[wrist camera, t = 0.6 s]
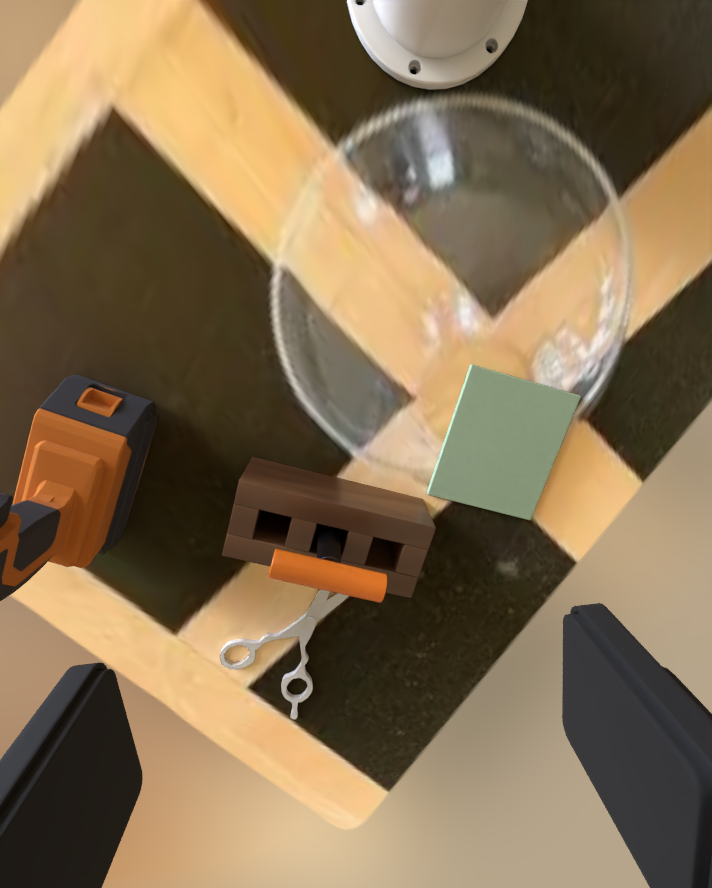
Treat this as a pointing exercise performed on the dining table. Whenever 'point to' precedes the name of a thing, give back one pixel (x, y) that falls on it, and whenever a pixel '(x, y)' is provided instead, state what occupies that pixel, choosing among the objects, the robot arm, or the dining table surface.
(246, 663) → the scissors
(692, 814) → the robot arm
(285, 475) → the rack
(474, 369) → the mat
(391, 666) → the dining table surface
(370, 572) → the t handle
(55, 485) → the power drill
